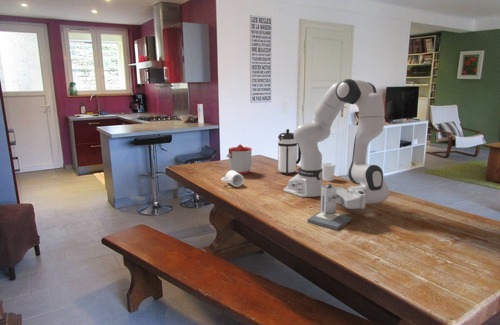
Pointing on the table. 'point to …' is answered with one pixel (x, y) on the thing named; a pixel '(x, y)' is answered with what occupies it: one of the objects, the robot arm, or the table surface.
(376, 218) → the table surface
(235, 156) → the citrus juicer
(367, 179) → the robot arm
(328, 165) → the white cup
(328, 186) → the aluminium block
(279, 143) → the coffee press
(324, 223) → the dock board
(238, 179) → the mug
